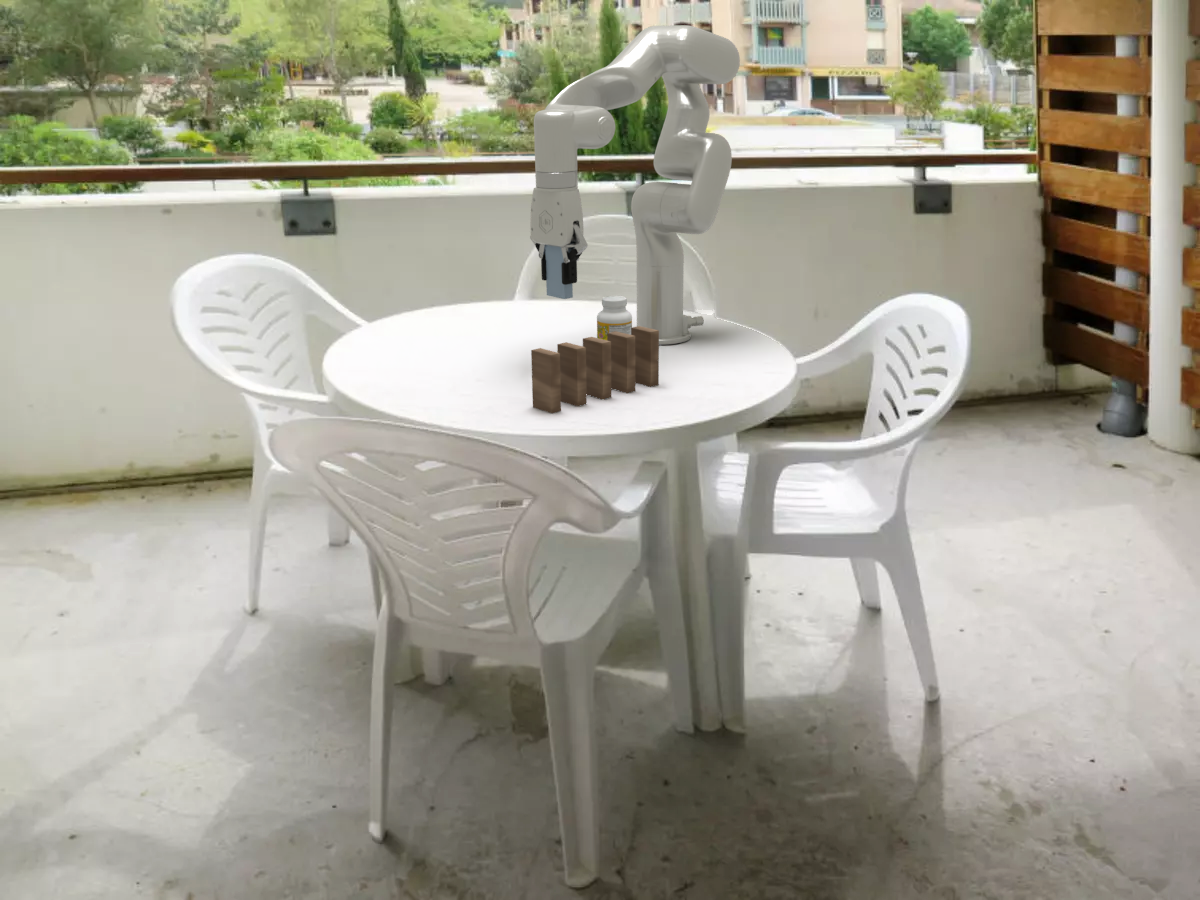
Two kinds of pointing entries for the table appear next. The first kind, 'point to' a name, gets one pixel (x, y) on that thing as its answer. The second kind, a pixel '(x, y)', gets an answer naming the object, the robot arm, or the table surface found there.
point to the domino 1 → (556, 273)
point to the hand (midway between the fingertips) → (559, 280)
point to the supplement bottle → (613, 317)
